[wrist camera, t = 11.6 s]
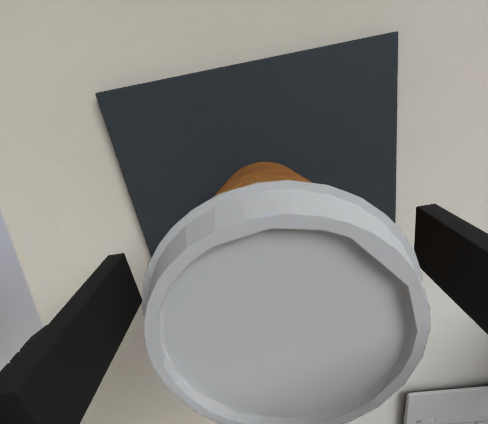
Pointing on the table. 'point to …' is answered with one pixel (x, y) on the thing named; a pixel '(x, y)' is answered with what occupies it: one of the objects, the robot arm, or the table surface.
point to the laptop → (448, 406)
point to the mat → (259, 128)
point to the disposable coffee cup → (284, 303)
